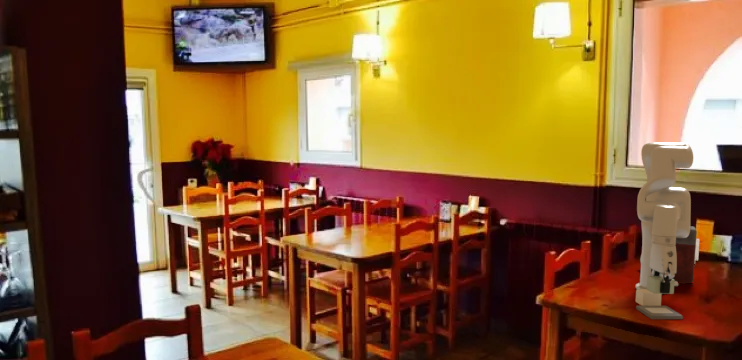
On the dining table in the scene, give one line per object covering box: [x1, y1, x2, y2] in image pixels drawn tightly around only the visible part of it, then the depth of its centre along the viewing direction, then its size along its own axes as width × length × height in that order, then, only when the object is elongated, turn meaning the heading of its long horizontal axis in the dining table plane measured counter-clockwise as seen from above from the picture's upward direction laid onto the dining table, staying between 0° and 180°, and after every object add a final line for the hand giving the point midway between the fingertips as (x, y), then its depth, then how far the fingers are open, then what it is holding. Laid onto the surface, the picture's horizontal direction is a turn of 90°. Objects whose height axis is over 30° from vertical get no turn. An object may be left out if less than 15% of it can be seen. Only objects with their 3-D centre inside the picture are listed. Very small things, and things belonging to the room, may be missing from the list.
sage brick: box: [647, 276, 675, 295], centre depth 206 cm, size 7×5×5 cm
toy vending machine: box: [672, 225, 698, 284], centre depth 251 cm, size 9×11×28 cm
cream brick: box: [635, 288, 663, 306], centre depth 218 cm, size 7×5×5 cm
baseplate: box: [635, 305, 684, 320], centre depth 207 cm, size 11×11×1 cm
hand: (660, 290), depth 206 cm, fingers closed on sage brick, 5 cm apart
